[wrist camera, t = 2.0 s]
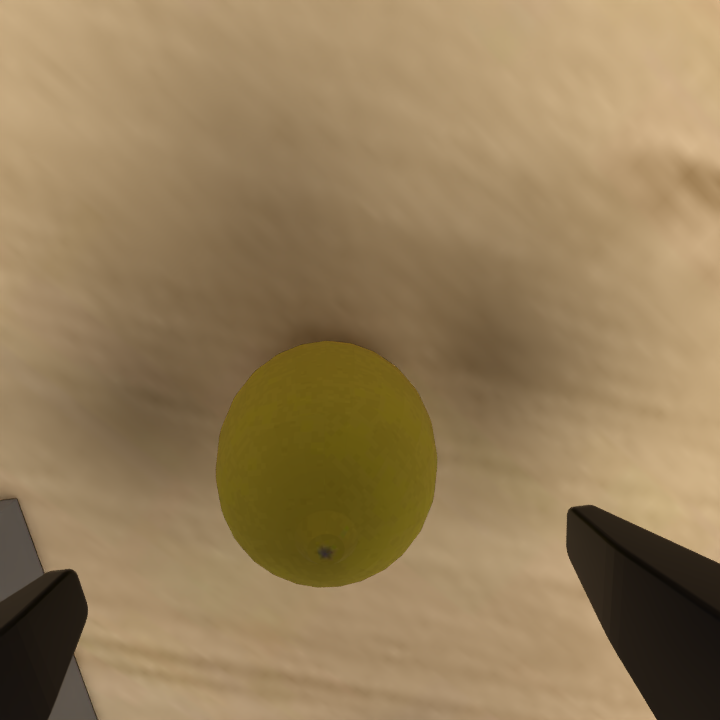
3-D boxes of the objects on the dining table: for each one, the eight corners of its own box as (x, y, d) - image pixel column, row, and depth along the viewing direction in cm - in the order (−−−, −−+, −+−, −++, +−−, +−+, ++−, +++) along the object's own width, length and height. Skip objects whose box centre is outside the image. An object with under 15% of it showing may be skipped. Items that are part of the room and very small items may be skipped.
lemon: (215, 381, 16) (101, 532, 8) (346, 282, 15) (359, 345, 7) (315, 494, 17) (301, 713, 9) (440, 408, 16) (533, 571, 9)
